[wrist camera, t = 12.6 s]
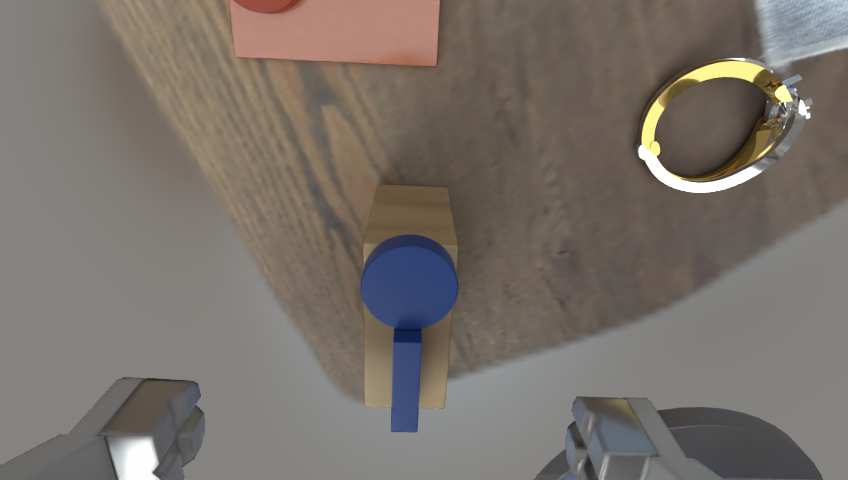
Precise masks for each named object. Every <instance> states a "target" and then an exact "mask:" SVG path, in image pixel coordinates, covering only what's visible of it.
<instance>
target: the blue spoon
mask: <svg viewBox="0 0 848 480" xmlns="http://www.w3.org/2000/svg"><path fill="white" fill-rule="evenodd" d="M361 295H362V299H363V301H364V304H365V306H366V307H367V309H368V310H369V312H370V313H371V314H372V315H373V316H374V317H375V318H376V319H378V320H379V321H380V322H382V323H384V324H386V325H388V326H390V327H393V328H394V336H393V365H392V409H391V410H392V411H391V431H392V432H417V428H418V410H419V392H420V374H421V355H422V328H426V327H429V326H431V325H433V324H435V323H437V322H439V321H440V320H442V319H443V318H444V317H445V316H446V315H447V314H448V313H449V312H450V310H451V309H452V307H453V306H454V304H455V302H456V298H457V295H458V280H457V274H456V268H455V264H454V262H453V259H452V257H451V256H450V254H449V253H448V252H447V250H446V249H445V248H444V247H443V246H441V245H440V244H439V243H437V242H436V241H434V240H432V239H430V238H427V237H424V236H420V235H413V234H407V235H399V236H395V237H392V238H389V239H387V240H385V241H383V242H382V243H380V244H379V245H378V246H377V247H376V248H375V249H374V250H373V251H372V252H371V253H370V255H369V256H368V258H367V260H366V263H365V265H364V270H363V275H362V279H361Z"/></svg>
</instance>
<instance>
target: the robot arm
mask: <svg viewBox="0 0 848 480" xmlns="http://www.w3.org/2000/svg"><path fill="white" fill-rule="evenodd" d="M200 397H201V395H200V390H199V386H198V383H196V382H194V381H186V380H170V379H169V380H168V379H155V378H154V379H153V378H147V379H145V378H132V377H124V378H121V379H118V380H117V381H116V382H115V383H114V384H113V385H112V386H111V387H110V388H109V389H108V390H107V391H106V393H105V394H104V395H103V396H102V397H101V398H100V399H99V400H98V401H97V403H96V404H95V405H94V406H93V407H92V408H91V409H90V410H89V411H88V413H87V414H86V415H85V416H84V417H83V418H82V419H81V420H80V422H79V423H78V424H77V425H76V426H75V427H74V428H73V429H72V430H71V431H70V433H69V434H68V435H61V434H60V435H58V436H56V437H54V438H52V439H50V440H48V441H46V442H44V443H42V444H40V445H38V446H37V447H35V448H33V449H31V450H29V451H27V452H25V453H24V454H21V455H20V456H17V457H15V458H13V459H12V460H10V461H8V462H6V463H4V464H2V465H0V480H183V479H184V472H183V467H184V466H185V465H186V464H188V463H189V462H191V461H192V460H193V459H195V457H196V455H197V453H198V451H199V449H200V447H201V444H202V440H203V436H204V432H205V418H204V413H203V412H202V410H201V409H200V408H199V407H197V405H196V403H197V401H198V400H199V398H200ZM572 413H573V416H574V418H575V421H574V422H573V423H572V424H570V425H569V426H568V429H567V434H566V455H567V460H568V464H569V467H570V470H571V473H572V474H573V475H574V476H576V477H577V478H578V479H579V480H724V479H723V478H722V477H720V476H719V475H717V474H716V473H714V472H713V471H712V470H710V469H709V468H707V467H706V466H704V465H703V464H701V463H700V462H699V461H697V460H696V459H694V458H686V456H685V454H684V453H683V451H682V450H681V448H680V447H679V445H678V443H677V442H676V440H675V439H674V437H673V436H672V434H671V432H670V431H669V429H668V428H667V426H666V425H665V423H664V421H663V420H662V418H661V417H660V415H659V414H658V412H657V410H656V409H655V407H654V406H653V404H652V403H651V402H650V401H649V400H648V399H647V398H608V397H576V399H575V400H574V402H573V406H572Z"/></svg>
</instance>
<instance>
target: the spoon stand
mask: <svg viewBox="0 0 848 480" xmlns="http://www.w3.org/2000/svg"><path fill="white" fill-rule="evenodd" d="M407 234H413V235H420V236H424V237H427V238H430V239H432V240H434V241H436V242H437V243H439V244H440V245H441V246H443V247H444V248H445V249H446V250H447V252H448V253H449V254H450V256H451V257H452V259H453V262H454V264H455V268H456V269H457V257H458V243H457V237H456V232H455V227H454V222H453V216H452V211H451V206H450V201H449V195H448V190H447V187H429V186H404V185H377V189H376V193H375V197H374V201H373V206H372V210H371V214H370V218H369V222H368V226H367V231H366V235H365V239H364V243H363V269H364V265H365V263H366V260H367V258H368V256H369V255H370V253H371V252H372V251H373V250H374V249H375V248H376V247H377V246H378V245H379V244H380V243H382V242H383V241H385V240H387V239H389V238H392V237H395V236H399V235H407ZM452 317H453V307H452V309H451V310H450V312H449V313H448V314H447V315H446V316H445V317H444V318H443V319H442V320H440V321H439V322H437V323H435V324H433V325H431V326H429V327H426V328H422V355H421V374H420V392H419V408H438V409H444V408H445V400H446V388H447V376H448V364H449V352H450V341H451V329H452ZM393 336H394V328H393V327H390V326H388V325H386V324H384V323H382V322H380V321H379V320H378V319H376V318H375V317H374V316H373V315H372V314H371V313H370V312H369V310H368V309H367V307H366V306H365V304H364V398H365V407H392V365H393Z"/></svg>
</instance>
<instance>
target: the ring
mask: <svg viewBox="0 0 848 480" xmlns="http://www.w3.org/2000/svg"><path fill="white" fill-rule="evenodd" d="M717 77H736V78H741V79H744V80H746V81H748V82H750V83H752V84H754V85H755V86H756V87H758V88H759V89H760V90H761V91H762V92H763V93H764V94H765V96H766V108H765V114H764V117H762V118H761V119H759V120H758V122H757V124H756V126H755V129H754V131H753V133H752V134H751V136H750V138H749V140H748V141H747V143H746V144H745V146H744V147H743V148H742V150H741V151H740V152H739V153H738V154H737V155H736V156H735V157H734V158H733V159H732V160H731V161H730V162H729V163H727V164H726V165H725V166H723V167H722V168H720V169H718V170H716V171H714V172H712V173H709V174H705V175H701V176H681V175H677V174H674V173H672V172H670V171H668V170H667V169H665V168H664V167H663V166H662V165H661V164H660V162H659V161H658V159H657V157H656V156H657V155H659V153H660V146H659V144H658V143H657V142H656V141H655V140H654V133H655V128H656V124H657V121H658V119H659V117H660V115H661V113H662V112H663V110H664V109H665V107H666V106H667V105H668V104H669V102H670V101H671V100H672V99H673V98H675V97H676V96H677V95H678V94H679V93H681V92H682V91H684V90H685V89H687V88H688V87H690V86H692V85H694V84H696V83H699V82H701V81H704V80H708V79H712V78H717ZM800 80H802V77H801V76H800V75H799V74H798V75H796V76H794V77H792V78H789V79H787V80H785V81H783V82H781V81H780V80H779V79H778V78H777V77H776V75H775V74H774V72H773V71H772V69H771V68H770V67H768V66H767V65H766V64H764V63H762V62H759V61H756V60H753V59H750V58H744V57H724V58H716V59H711V60H706V61H703V62H700V63H697V64H695V65H692V66H690V67H688V68H686V69H684V70H683V71H681V72H680V73H678V74H677V75H675V76H674V77H672V78H671V79H670V80H669V81H668V82H666V83H665V84H664V85H663V86H662V87H661V88H660V89H659V90H658V91H657V93H656V94H655V95H654V96H653V98H652V99H651V100H650V102H649V103H648V105H647V107H646V109H645V111H644V113H643V115H642V118H641V121H640V125H639V132H638V141H637V142H636V143H635V151H636V153H637V154H638V155H639V157H640V158H641V159H643V161H644V163H645V164H646V166H647V167H648V169H649V170H650V171H651V172H652V173H653V175H654V176H656V177H657V178H658V179H659V180H660V181H662V182H663V183H665V184H667V185H668V186H671V187H673V188H676V189H679V190H683V191H688V192H713V191H719V190H723V189H726V188H730V187H732V186H735V185H737V184H740V183H742V182H744V181H746V180H748V179H750V178H752V177H754V176H756V175H757V174H759V173H761V172H762V171H764V170H765V169H767V168H768V167H770V166H771V165H773V164H774V163H775V162H776V161H777V160H779V159H780V158H781V157H782V156H783V155H784V154H785V153H786V152H787V150H788V149H789V148H790V147H791V145H792V144H793V143H794V141H795V140H796V138H797V137H798V136H799V134H800V132H801V130H802V128H803V126H804V124H805V121H806V119H807V118H810V111H809V112H806V109H809V108H810V107H809V105H812V99H811V98H810V99H807V100H805V101H802V100H801V98H800V96H799V94H798V92H797V91H796V89H794V88H793V87H792V86H791V85H792V84H794V83H796V82H798V81H800ZM772 126H773V127H775V131H774V132H773V139H774V138H776V139H775V140H774V142H773V143H772V144H771V145H770V146H769V147H768V148H767V149H766V150H765V151H764V152H762V153H761V151H762V150H763V148H764V146H765V144H766V142H767V140H768V138H769V135H770V133H771V129H772ZM760 153H761V154H760ZM759 154H760V155H759Z"/></svg>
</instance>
